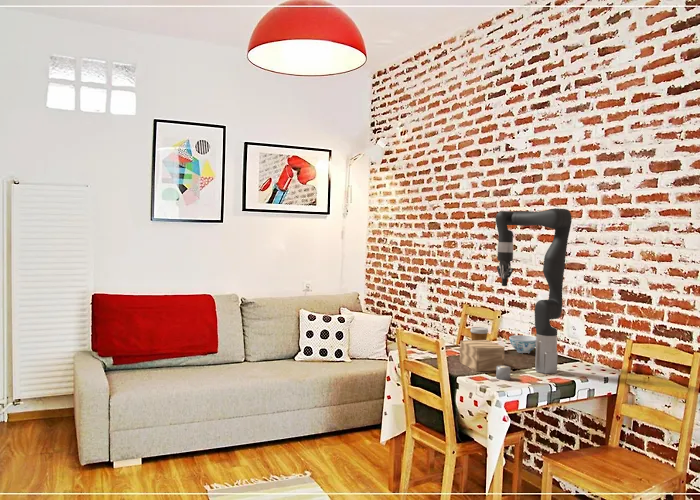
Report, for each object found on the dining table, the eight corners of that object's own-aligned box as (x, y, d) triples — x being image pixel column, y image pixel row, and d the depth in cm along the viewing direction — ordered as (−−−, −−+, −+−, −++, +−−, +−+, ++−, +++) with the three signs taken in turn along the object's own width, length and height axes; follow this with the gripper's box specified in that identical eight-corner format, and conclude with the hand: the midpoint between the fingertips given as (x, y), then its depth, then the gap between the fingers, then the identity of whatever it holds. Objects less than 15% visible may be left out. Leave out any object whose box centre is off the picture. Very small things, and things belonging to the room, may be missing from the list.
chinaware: (521, 356, 312) (521, 341, 311) (502, 350, 325) (503, 336, 325) (544, 354, 318) (544, 339, 317) (525, 348, 331) (525, 334, 331)
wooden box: (503, 369, 281) (504, 348, 281) (476, 371, 278) (476, 349, 277) (485, 361, 299) (486, 341, 298) (459, 362, 295) (460, 342, 295)
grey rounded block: (512, 379, 264) (513, 368, 263) (500, 380, 262) (500, 368, 262) (505, 376, 269) (506, 365, 269) (493, 376, 268) (494, 365, 268)
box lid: (504, 348, 281) (504, 347, 281) (476, 349, 277) (476, 348, 277) (486, 341, 298) (486, 339, 298) (460, 341, 295) (460, 340, 295)
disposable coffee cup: (466, 350, 324) (466, 328, 323) (475, 348, 331) (476, 326, 330) (481, 353, 317) (482, 330, 317) (491, 350, 324) (491, 328, 324)
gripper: (519, 252, 295) (517, 287, 296) (505, 250, 308) (504, 284, 309) (505, 251, 293) (504, 287, 294) (492, 250, 306) (491, 284, 307)
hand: (504, 285), depth 301 cm, fingers closed
